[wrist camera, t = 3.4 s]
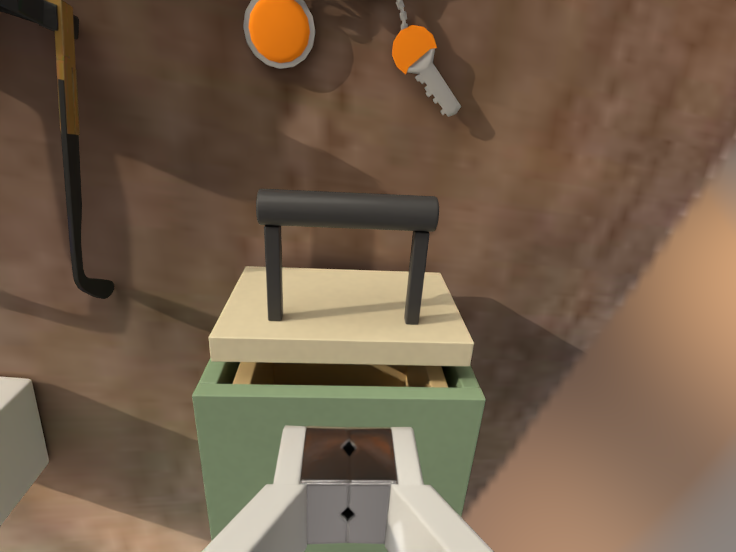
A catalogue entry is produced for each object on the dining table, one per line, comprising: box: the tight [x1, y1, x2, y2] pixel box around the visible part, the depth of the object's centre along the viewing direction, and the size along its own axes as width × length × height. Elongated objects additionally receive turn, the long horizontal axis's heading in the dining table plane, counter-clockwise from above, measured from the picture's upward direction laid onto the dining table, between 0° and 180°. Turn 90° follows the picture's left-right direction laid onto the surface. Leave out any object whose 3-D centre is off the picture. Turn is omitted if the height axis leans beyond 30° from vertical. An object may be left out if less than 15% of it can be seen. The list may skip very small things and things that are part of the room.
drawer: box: [209, 189, 474, 388], centre depth 23 cm, size 20×11×7 cm, turn 177°
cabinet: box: [192, 358, 486, 552], centre depth 25 cm, size 15×12×9 cm
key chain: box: [243, 0, 461, 117], centre depth 20 cm, size 13×7×1 cm, turn 72°
